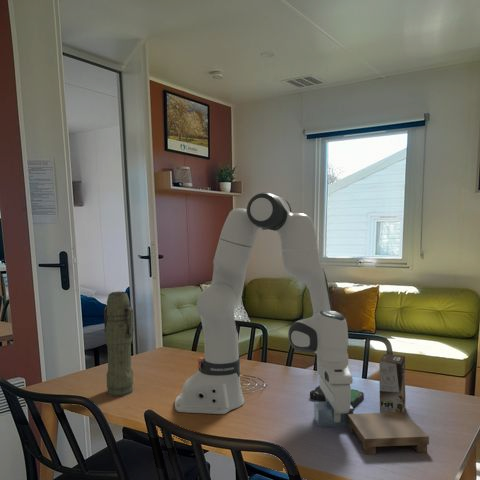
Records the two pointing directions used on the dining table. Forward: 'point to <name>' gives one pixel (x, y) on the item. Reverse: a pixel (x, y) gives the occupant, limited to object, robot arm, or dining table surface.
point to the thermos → (119, 344)
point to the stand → (387, 431)
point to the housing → (329, 415)
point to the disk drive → (320, 396)
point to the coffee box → (392, 383)
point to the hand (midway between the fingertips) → (333, 415)
